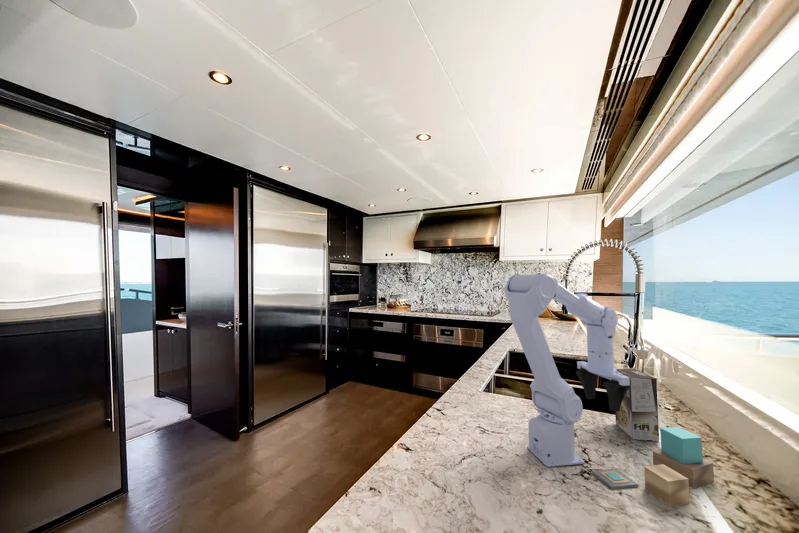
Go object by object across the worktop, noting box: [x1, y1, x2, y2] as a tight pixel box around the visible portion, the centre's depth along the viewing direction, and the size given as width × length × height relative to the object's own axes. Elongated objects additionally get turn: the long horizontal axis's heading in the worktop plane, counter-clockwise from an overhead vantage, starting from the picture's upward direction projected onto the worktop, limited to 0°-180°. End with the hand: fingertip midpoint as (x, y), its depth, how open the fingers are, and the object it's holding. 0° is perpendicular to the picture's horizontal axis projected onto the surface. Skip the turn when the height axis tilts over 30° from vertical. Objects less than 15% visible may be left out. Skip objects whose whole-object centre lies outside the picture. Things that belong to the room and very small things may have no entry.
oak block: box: [643, 464, 691, 507], centre depth 57 cm, size 4×4×4 cm
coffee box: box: [614, 368, 660, 442], centre depth 81 cm, size 9×6×16 cm
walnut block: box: [652, 448, 715, 490], centre depth 63 cm, size 7×7×4 cm
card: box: [591, 468, 639, 491], centre depth 61 cm, size 6×5×1 cm
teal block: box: [659, 426, 704, 464], centre depth 63 cm, size 5×5×5 cm
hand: (602, 404), depth 76 cm, fingers open, 7 cm apart
